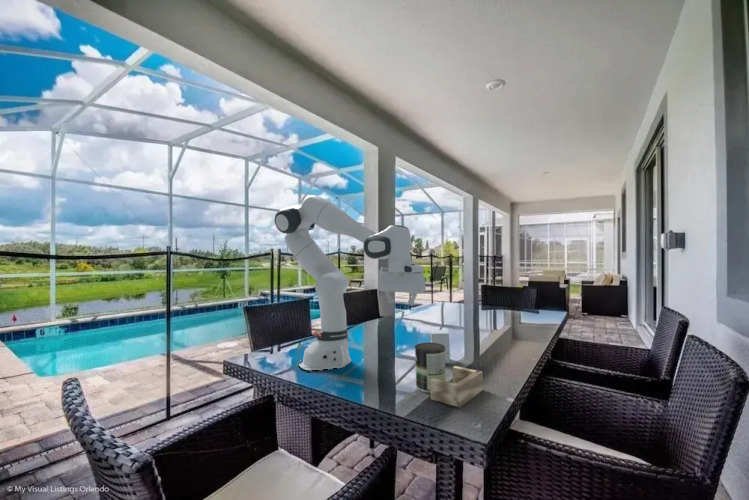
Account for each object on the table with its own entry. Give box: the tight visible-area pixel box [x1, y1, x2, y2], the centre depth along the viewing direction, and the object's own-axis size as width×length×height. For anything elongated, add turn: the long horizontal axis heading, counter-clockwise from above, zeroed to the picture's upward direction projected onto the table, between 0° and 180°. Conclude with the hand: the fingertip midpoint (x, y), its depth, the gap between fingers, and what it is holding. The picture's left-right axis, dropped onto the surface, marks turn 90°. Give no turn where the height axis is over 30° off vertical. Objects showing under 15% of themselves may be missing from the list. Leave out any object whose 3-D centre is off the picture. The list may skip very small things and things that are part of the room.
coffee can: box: [414, 342, 446, 394], centre depth 118 cm, size 10×10×14 cm
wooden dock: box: [430, 365, 484, 408], centre depth 112 cm, size 10×17×6 cm, turn 140°
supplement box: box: [430, 329, 451, 364], centre depth 148 cm, size 7×7×13 cm
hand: (401, 304), depth 130 cm, fingers open, 8 cm apart
